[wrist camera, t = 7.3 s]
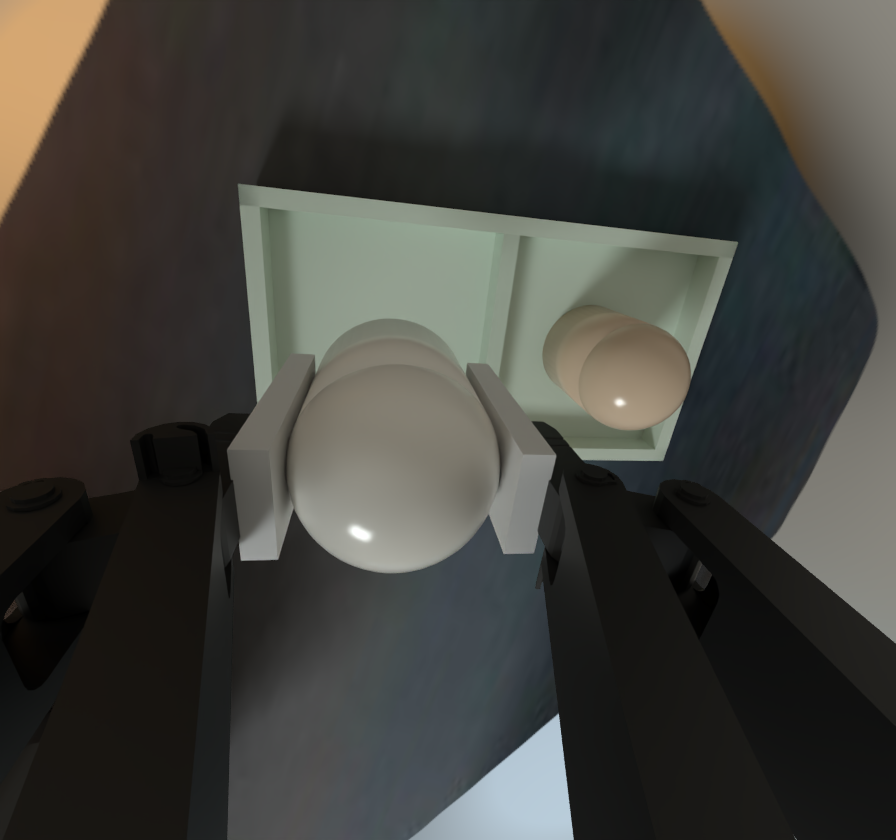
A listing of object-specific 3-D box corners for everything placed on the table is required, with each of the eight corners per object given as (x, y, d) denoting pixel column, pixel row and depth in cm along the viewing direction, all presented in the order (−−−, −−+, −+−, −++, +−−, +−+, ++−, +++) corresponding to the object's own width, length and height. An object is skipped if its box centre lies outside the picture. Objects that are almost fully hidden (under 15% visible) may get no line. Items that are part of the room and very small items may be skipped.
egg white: (317, 454, 16) (270, 631, 9) (313, 312, 14) (247, 403, 7) (455, 456, 17) (506, 619, 10) (471, 323, 15) (551, 414, 8)
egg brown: (535, 389, 26) (591, 448, 19) (551, 301, 24) (622, 332, 17) (613, 392, 27) (694, 450, 20) (636, 308, 25) (736, 340, 18)
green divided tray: (271, 436, 25) (262, 456, 23) (252, 187, 20) (237, 183, 18) (642, 443, 30) (662, 460, 28) (706, 240, 24) (738, 242, 22)
